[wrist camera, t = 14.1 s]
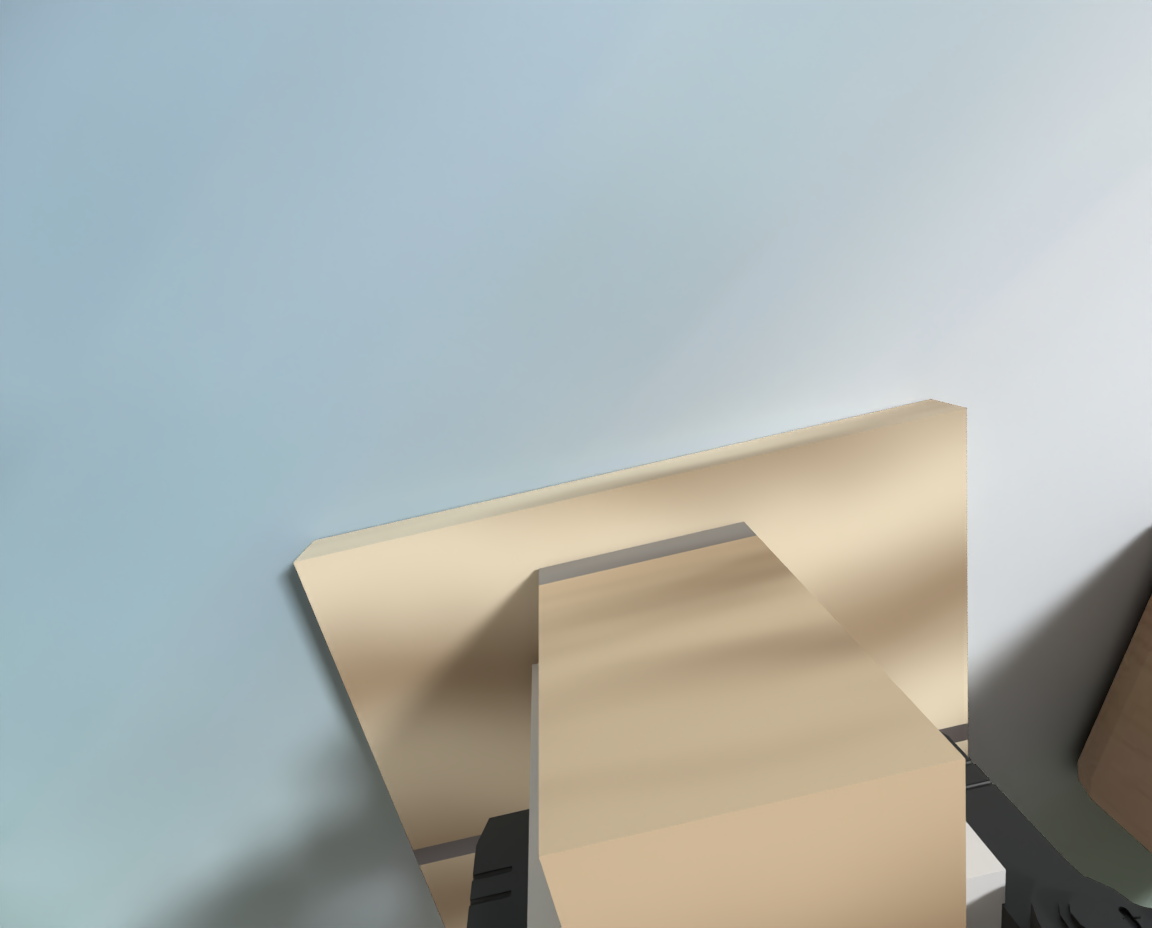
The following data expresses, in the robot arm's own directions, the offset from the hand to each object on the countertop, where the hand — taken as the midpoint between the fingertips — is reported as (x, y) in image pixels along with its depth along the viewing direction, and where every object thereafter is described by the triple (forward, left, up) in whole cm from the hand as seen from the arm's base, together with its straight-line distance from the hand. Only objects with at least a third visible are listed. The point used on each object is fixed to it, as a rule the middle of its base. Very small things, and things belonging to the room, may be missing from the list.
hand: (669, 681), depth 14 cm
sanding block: (0, 0, 0) cm, 0 cm away
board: (+7, 0, -2) cm, 7 cm away
